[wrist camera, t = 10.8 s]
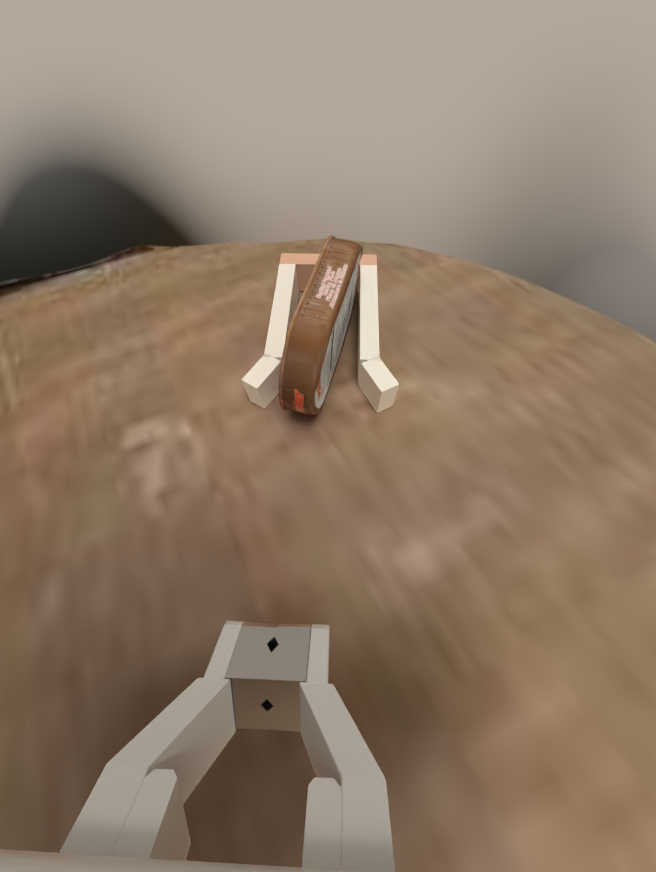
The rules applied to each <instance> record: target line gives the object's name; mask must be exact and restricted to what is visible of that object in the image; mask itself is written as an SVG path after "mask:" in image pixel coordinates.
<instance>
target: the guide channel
mask: <svg viewBox="0 0 656 872" xmlns="http://www.w3.org/2000/svg"><path fill="white" fill-rule="evenodd" d="M319 255H320V254H288V253H281V259H280V265H279V271H278V277H277V282H276V288H275V294H274V300H273V306H272V312H271V318H270V323H269V329H268V335H267V341H266V347H265V353H264V356H263V357H262V358H261V359H260V360H259V361H258V362H257V363H256V364H255V365H254V367H253V368H252V369H251V370H250V371H249V372H248V373H247V374H246V375H245V376H244V378H243V379H242V382H243V385H244V387H245V389H246V392H247V394H248V396H249V399H250V401H251V402H253V403H254V404H256V405H258V406H260V407H261V408H263V409H266V408H267V406H268V405H269V404H270V403H271V402H272V400H273V399H274V398H275V397H276V396H277V394H278V393H279V374H280V366H281V359H282V354H283V349H284V345H285V340H286V336H287V333H288V329H289V326H290V323H291V320H292V317H293V315H294V312H295V310H296V307H297V302H298V294H299V291H304V290H305V288H306V285H307V283H308V280H309V278H310V276H311V274H312V271H313V269H314V266H315V264H316V262H317V260H318V257H319ZM357 292H358V382H359V387H360V389H361V390H362V392H363V393H364V395H365V396H366V398H367V399H368V400H369V402H370V403H371V405H372V406H373V408H374V409H375V411H376V412H377V413H378V412H380V411H382V410H384V409H387V408H389V407H391V406H393V403H394V400H395V396H396V393H397V390H398V386H399V383H398V382H397V381H396V379H395V378H394V377H393V375H392V374H391V373H390V371H389V370H388V369H387V367H386V366H385V365H384V363H383V362H382V361H381V359H380V358H379V326H378V291H377V256H376V255H366V254H362V257H361V260H360V263H359V269H358V276H357Z"/></svg>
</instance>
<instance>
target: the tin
mask: <svg viewBox="0 0 656 872" xmlns="http://www.w3.org/2000/svg"><path fill="white" fill-rule="evenodd" d="M362 253H363V248H362V246H361V245H360V244H358V243H355V242H351V241H346V240H342V239H338V238H335V237H334V236H329V237H328V238H327V240H326V242H325V244H324V246H323V248H322V250H321V253H320V255H319V257H318V260H317V262H316V264H315V266H314V269H313V271H312V274H311V276H310V278H309V280H308V283H307V285H306V288H305V290H304V292H303V294H302V296H301V299H300V301H299V303H298V305H297V307H296V310H295V312H294V315H293V317H292V320H291V323H290V326H289V329H288V333H287V336H286V340H285V345H284V349H283V354H282V359H281V366H280V374H279V400H280V405H281V407H282V409H283V410H292V411H296V412H300V413H303V414H308V415H316V414H318V413H319V411H320V410H321V408H322V406H323V404H324V401H325V398H326V395H327V393H328V389H329V386H330V383H331V380H332V378H333V374H334V372H335V369H336V366H337V363H338V360H339V357H340V354H341V350H342V347H343V344H344V341H345V337H346V334H347V330H348V327H349V323H350V319H351V315H352V311H353V307H354V303H355V298H356V292H357V276H358V269H359V263H360V260H361V257H362Z"/></svg>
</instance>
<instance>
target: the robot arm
mask: <svg viewBox="0 0 656 872" xmlns="http://www.w3.org/2000/svg"><path fill="white" fill-rule="evenodd" d="M329 633H330V627H329V625H315V624H290V623H278V624H274V623H260V622H243V621H227V622H226V623H225V625H224V626H223V629H222V631H221V634H220V636H219V639H218V641H217V644H216V646H215V649H214V652H213V654H212V657H211V659H210V662H209V664H208V667H207V670H206V672H205V675H204V677H203V678H197V679H196V680H195V681H194V682H193V683H192V684H191V685H190V686H188V687H187V688H186V689H185V690H184V691H183V692H182V693H181V694H180V695H179V696H178V697H177V698H176V699H175V700H174V701H173V702H171V703H170V704H169V705H168V706H167V707H166V708H165V709H164V710H163V711H162V712H161V713H160V714H159V715H158V716H157V717H156V718H154V719H153V720H152V721H151V722H150V723H149V724H148V725H147V726H146V727H145V728H144V729H143V730H142V731H141V732H140V733H139V734H137V735H136V736H135V737H134V738H133V739H132V740H131V741H130V742H129V743H128V744H127V745H126V746H125V747H124V748H123V749H122V750H120V751H119V752H118V753H117V754H116V755H115V756H114V757H113V758H112V759H111V760H110V761H109V762H108V763H107V764H106V766H105V768H104V770H103V771H102V773H101V775H100V777H99V779H98V781H97V783H96V784H95V786H94V788H93V790H92V792H91V794H90V796H89V797H88V799H87V801H86V803H85V805H84V807H83V809H82V811H81V812H80V814H79V816H78V818H77V820H76V822H75V824H74V825H73V827H72V829H71V831H70V833H69V835H68V837H67V839H66V840H65V842H64V844H63V846H62V848H61V850H60V852H59V853H57V852H41V851H25V850H8V849H0V872H395V864H394V854H393V844H392V835H391V825H390V815H389V805H388V796H387V786H386V779H385V777H384V775H383V773H382V772H381V770H380V768H379V766H378V764H377V762H376V761H375V759H374V757H373V755H372V753H371V752H370V750H369V748H368V746H367V744H366V743H365V741H364V739H363V737H362V735H361V733H360V732H359V730H358V728H357V726H356V724H355V723H354V721H353V719H352V717H351V715H350V713H349V712H348V710H347V708H346V706H345V704H344V703H343V701H342V699H341V697H340V695H339V694H338V692H337V690H336V688H335V686H334V684H328V676H329ZM236 729H270V730H282V731H294V732H301V736H302V739H303V742H304V744H305V747H306V750H307V753H308V756H309V758H310V761H311V764H312V767H313V770H314V772H315V775H316V777H314V779H313V780H312V781H311V782H310V784H309V785H308V796H307V808H306V821H305V833H304V846H303V858H302V868H301V867H285V866H269V865H252V864H236V863H220V862H204V861H188V860H186V859H187V855H188V851H189V848H190V844H191V840H190V836H189V831H188V826H187V822H186V817H185V812H184V807H183V804H184V803H185V801H186V800H187V799H188V797H189V796H190V794H191V793H192V792H193V790H194V789H195V788H196V786H197V785H198V783H199V782H200V781H201V779H202V778H203V776H204V775H205V774H206V772H207V771H208V770H209V768H210V767H211V765H212V764H213V763H214V761H215V760H216V758H217V757H218V756H219V754H220V753H221V751H222V750H223V749H224V747H225V746H226V745H227V743H228V742H229V740H230V739H231V738H232V736H233V735H234V733H235V732H236Z"/></svg>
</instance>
